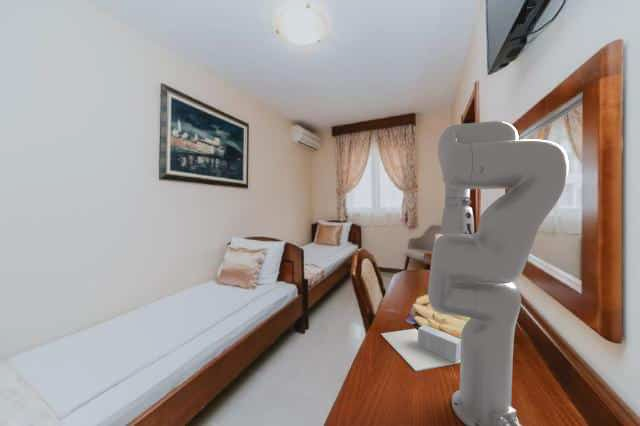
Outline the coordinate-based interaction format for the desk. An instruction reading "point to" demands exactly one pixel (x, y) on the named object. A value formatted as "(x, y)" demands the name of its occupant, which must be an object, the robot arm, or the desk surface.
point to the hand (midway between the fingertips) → (455, 255)
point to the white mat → (414, 350)
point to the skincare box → (439, 343)
